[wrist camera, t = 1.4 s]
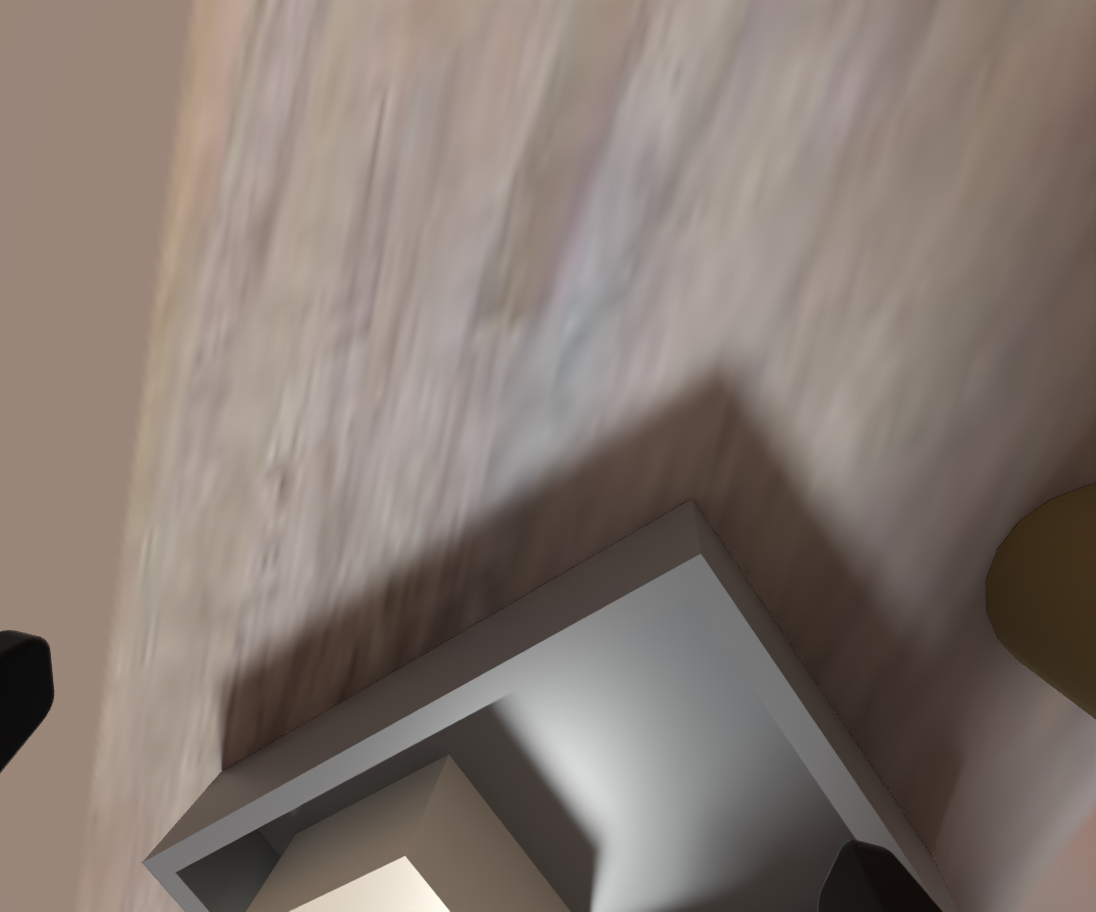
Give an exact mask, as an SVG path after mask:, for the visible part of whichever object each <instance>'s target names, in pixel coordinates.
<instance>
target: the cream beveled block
mask: <svg viewBox="0 0 1096 912" xmlns="http://www.w3.org/2000/svg"><path fill="white" fill-rule="evenodd" d="M246 912H571V911H570V910H569V909H568V907H567V906H566V905H565V903H564V902H563V901H562V900H561V898H560V897H559V896H558V894H557V893H556V892H555V890H554V889H553V888H552V887H551V885H550V884H549V883H548V881H547V880H546V879H545V878H544V876H543V875H542V874H541V872H540V871H539V870H538V869H537V867H536V866H535V865H534V863H533V862H532V861H531V860H530V858H529V857H528V856H527V854H526V853H525V852H524V851H523V849H522V848H521V847H520V845H519V844H518V843H517V841H516V840H515V839H514V838H513V836H512V835H511V834H510V832H509V831H508V830H507V829H506V827H505V826H504V825H503V823H502V822H501V821H500V820H499V818H498V817H497V816H496V814H495V813H494V812H493V811H492V809H491V808H490V807H489V805H488V804H487V803H486V801H485V800H484V799H483V798H482V796H481V795H480V794H479V792H478V791H477V790H476V789H475V787H474V786H473V785H472V783H471V782H470V781H469V780H468V778H467V777H466V776H465V774H464V773H463V772H462V771H461V769H460V768H459V767H458V765H457V764H456V763H455V762H454V760H453V759H452V758H451V756H450V755H447V756H445V757H443V758H441V759H439V760H437V761H435V762H433V763H431V764H429V765H427V766H426V767H424V768H422V769H420V770H418V771H416V772H414V773H412V774H410V775H408V776H406V777H404V778H403V779H401V780H399V781H397V782H395V783H393V784H391V785H389V786H387V787H385V788H383V789H381V790H380V791H378V792H376V793H374V794H372V795H370V796H368V797H366V798H364V799H362V800H360V801H358V802H357V803H355V804H353V805H351V806H349V807H347V808H345V809H343V810H341V811H339V812H337V813H335V814H333V815H332V816H330V817H328V818H326V819H324V820H322V821H320V822H318V823H316V824H314V825H312V826H310V827H309V828H307V829H305V830H303V831H301V832H299V833H297V834H295V836H294V838H293V839H292V841H291V842H290V844H289V845H288V847H287V848H286V850H285V852H284V853H283V855H282V856H281V858H280V859H279V861H278V862H277V864H276V866H275V867H274V869H273V870H272V872H271V873H270V875H269V877H268V878H267V880H266V881H265V883H264V884H263V886H262V887H261V889H260V891H259V892H258V894H257V895H256V897H255V898H254V900H253V901H252V903H251V905H250V906H249V908H248V909H247V911H246Z"/></svg>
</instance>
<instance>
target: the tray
mask: <svg viewBox="0 0 1096 912" xmlns="http://www.w3.org/2000/svg"><path fill="white" fill-rule="evenodd" d="M447 755H450V756H451V758H452V759H453V760H454V762H455V763H456V764H457V765H458V767H459V768H460V769H461V771H462V772H463V773H464V774H465V776H466V777H467V778H468V780H469V781H470V782H471V783H472V785H473V786H474V787H475V789H476V790H477V791H478V792H479V794H480V795H481V796H482V798H483V799H484V800H485V801H486V803H487V804H488V805H489V807H490V808H491V809H492V811H493V812H494V813H495V814H496V816H497V817H498V818H499V820H500V821H501V822H502V823H503V825H504V826H505V827H506V829H507V830H508V831H509V832H510V834H511V835H512V836H513V838H514V839H515V840H516V841H517V843H518V844H519V845H520V847H521V848H522V849H523V851H524V852H525V853H526V854H527V856H528V857H529V858H530V860H531V861H532V862H533V863H534V865H535V866H536V867H537V869H538V870H539V871H540V872H541V874H542V875H543V876H544V878H545V879H546V880H547V881H548V883H549V884H550V885H551V887H552V888H553V889H554V890H555V892H556V893H557V894H558V896H559V897H560V898H561V900H562V901H563V902H564V903H565V905H566V906H567V907H568V909H569V910H570V911H571V912H818V898H819V894H820V891H821V888H822V886H823V884H824V882H825V879H826V877H827V875H828V873H829V871H830V869H831V867H832V864H833V862H834V860H835V858H836V856H837V854H838V852H839V849H840V848H841V846H842V844H843V843H844V842H846V841H847V840H852V839H854V840H858V841H862V842H866V843H870V844H874V845H878V846H882V847H884V848H886V849H888V850H889V851H891V852H892V853H893V854H894V855H895V856H896V857H897V859H898V860H899V861H900V862H901V863H902V864H903V866H904V867H905V868H906V869H907V870H908V871H909V872H910V874H911V875H912V876H913V877H914V878H915V879H916V881H917V882H918V883H919V884H920V885H921V886H922V888H923V889H924V890H925V891H926V892H927V893H928V895H929V896H930V897H931V898H932V899H933V900H934V902H935V903H936V904H937V905H938V906H939V907H940V909H941V910H942V911H943V912H958V910H957V908H956V906H955V904H954V902H953V900H952V897H951V895H950V893H949V891H948V889H947V887H946V885H945V883H944V880H943V878H942V876H941V874H940V872H939V870H938V868H937V866H936V863H935V861H934V859H933V857H932V855H931V854H930V853H929V851H928V850H927V848H926V847H925V845H924V844H923V842H922V841H921V839H920V838H919V836H918V835H917V833H916V832H915V830H914V829H913V827H912V826H911V824H910V823H909V821H908V820H907V818H906V817H905V815H904V814H903V812H902V811H901V809H900V808H899V806H898V805H897V803H896V802H895V800H894V799H893V797H892V796H891V794H890V793H889V791H888V790H887V788H886V787H885V785H884V784H883V782H882V781H881V779H880V778H879V776H878V775H877V773H876V772H875V770H874V769H873V767H872V766H871V764H870V763H869V761H868V760H867V758H866V757H865V755H864V754H863V752H862V751H861V750H860V748H859V747H858V745H857V744H856V742H855V741H854V739H853V738H852V736H851V735H850V733H849V732H848V730H847V729H846V727H845V726H844V724H843V723H842V721H841V720H840V718H839V717H838V715H837V714H836V712H835V711H834V709H833V708H832V706H831V705H830V703H829V702H828V700H827V699H826V697H825V696H824V694H823V693H822V691H821V690H820V688H819V687H818V685H817V684H816V682H815V681H814V679H813V678H812V676H811V675H810V673H809V672H808V670H807V669H806V667H805V666H804V664H803V663H802V661H801V660H800V658H799V657H798V655H797V654H796V652H795V651H794V650H793V648H792V647H791V645H790V644H789V642H788V641H787V639H786V638H785V636H784V635H783V633H782V632H781V630H780V629H779V627H778V626H777V624H776V623H775V621H774V620H773V618H772V617H771V615H770V614H769V612H768V611H767V609H766V608H765V606H764V605H763V603H762V602H761V600H760V599H759V597H758V596H757V594H756V593H755V591H754V590H753V588H752V587H751V585H750V584H749V582H748V581H747V579H746V578H745V576H744V575H743V573H742V572H741V570H740V569H739V567H738V566H737V564H736V563H735V561H734V560H733V558H732V557H731V555H730V554H729V552H728V551H727V549H726V548H725V547H724V545H723V544H722V542H721V541H720V539H719V538H718V536H717V535H716V533H715V532H714V530H713V529H712V527H711V526H710V524H709V523H708V521H707V520H706V518H705V517H704V515H703V514H702V512H701V511H700V509H699V508H698V506H697V505H696V503H695V502H694V500H693V499H690V500H689V501H687V502H685V503H684V504H682V505H680V506H678V507H677V508H675V509H673V510H672V511H670V512H668V513H666V514H665V515H663V516H661V517H659V518H658V519H656V520H654V521H653V522H651V523H649V524H647V525H646V526H644V527H642V528H641V529H639V530H637V531H635V532H634V533H632V534H630V535H628V536H627V537H625V538H623V539H622V540H620V541H618V542H616V543H615V544H613V545H611V546H610V547H608V548H606V549H604V550H603V551H601V552H599V553H597V554H596V555H594V556H592V557H591V558H589V559H587V560H585V561H584V562H582V563H580V564H579V565H577V566H575V567H573V568H572V569H570V570H568V571H567V572H565V573H563V574H561V575H560V576H558V577H556V578H554V579H553V580H551V581H549V582H548V583H546V584H544V585H542V586H541V587H539V588H537V589H536V590H534V591H532V592H530V593H529V594H527V595H525V596H523V597H522V598H520V599H518V600H517V601H515V602H513V603H511V604H510V605H508V606H506V607H505V608H503V609H501V610H499V611H498V612H496V613H494V614H492V615H491V616H489V617H487V618H486V619H484V620H482V621H480V622H479V623H477V624H475V625H474V626H472V627H470V628H468V629H467V630H465V631H463V632H462V633H460V634H458V635H456V636H455V637H453V638H451V639H449V640H448V641H446V642H444V643H443V644H441V645H439V646H437V647H436V648H434V649H432V650H431V651H429V652H427V653H425V654H424V655H422V656H420V657H418V658H417V659H415V660H413V661H412V662H410V663H408V664H406V665H405V666H403V667H401V668H400V669H398V670H396V671H394V672H393V673H391V674H389V675H387V676H386V677H384V678H382V679H381V680H379V681H377V682H375V683H374V684H372V685H370V686H369V687H367V688H365V689H363V690H362V691H360V692H358V693H356V694H355V695H353V696H351V697H350V698H348V699H346V700H344V701H343V702H341V703H339V704H338V705H336V706H334V707H332V708H331V709H329V710H327V711H326V712H324V713H322V714H320V715H319V716H317V717H315V718H313V719H312V720H310V721H308V722H307V723H305V724H303V725H301V726H300V727H298V728H296V729H295V730H293V731H291V732H289V733H288V734H286V735H284V736H282V737H281V738H279V739H277V740H276V741H274V742H272V743H270V744H269V745H267V746H265V747H264V748H262V749H260V750H258V751H257V752H255V753H253V754H251V755H250V756H248V757H246V758H245V759H243V760H241V761H239V762H238V763H236V764H234V765H233V766H231V767H229V768H227V769H226V770H224V771H222V772H221V773H220V774H219V775H218V776H217V777H216V778H215V780H214V781H213V782H212V783H211V784H210V785H209V786H208V788H207V789H206V790H205V791H204V792H203V793H202V794H201V796H200V797H199V798H198V799H197V800H196V801H195V803H194V804H193V805H192V806H191V807H190V808H189V809H188V811H187V812H186V813H185V814H184V815H183V816H182V817H181V819H180V820H179V821H178V822H177V823H176V824H175V825H174V827H173V828H172V829H171V830H170V831H169V832H168V834H167V835H166V836H165V837H164V838H163V839H162V840H161V842H160V843H159V844H158V845H157V846H156V847H155V848H154V850H153V851H152V852H151V853H150V854H149V855H148V856H147V858H146V859H145V860H144V861H143V862H142V863H143V864H144V866H145V867H146V868H147V869H148V870H149V871H150V872H151V874H152V875H153V876H154V877H155V878H156V879H157V880H158V882H159V883H160V884H161V885H162V886H163V887H164V888H165V890H166V891H167V892H168V893H169V894H170V895H171V896H172V898H173V899H174V900H175V901H176V902H177V903H178V904H179V906H180V907H181V908H182V909H183V910H184V911H185V912H246V911H247V909H248V908H249V906H250V905H251V903H252V901H253V900H254V898H255V897H256V895H257V894H258V892H259V891H260V889H261V887H262V886H263V884H264V883H265V881H266V880H267V878H268V877H269V875H270V873H271V872H272V870H273V869H274V867H275V866H276V864H277V862H278V861H279V859H280V858H281V856H282V855H283V853H284V852H285V850H286V848H287V847H288V845H289V844H290V842H291V841H292V839H293V838H294V836H295V834H297V833H299V832H301V831H303V830H305V829H307V828H309V827H310V826H312V825H314V824H316V823H318V822H320V821H322V820H324V819H326V818H328V817H330V816H332V815H333V814H335V813H337V812H339V811H341V810H343V809H345V808H347V807H349V806H351V805H353V804H355V803H357V802H358V801H360V800H362V799H364V798H366V797H368V796H370V795H372V794H374V793H376V792H378V791H380V790H381V789H383V788H385V787H387V786H389V785H391V784H393V783H395V782H397V781H399V780H401V779H403V778H404V777H406V776H408V775H410V774H412V773H414V772H416V771H418V770H420V769H422V768H424V767H426V766H427V765H429V764H431V763H433V762H435V761H437V760H439V759H441V758H443V757H445V756H447Z"/></svg>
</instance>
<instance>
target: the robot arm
mask: <svg viewBox="0 0 1096 912" xmlns="http://www.w3.org/2000/svg"><path fill="white" fill-rule="evenodd" d="M53 700H54V685H53V674H52V663H51V653H50V647H49V644H48V643H47V641H46V640H45V639H43V638H42V637H39V636H35V635H31V634H27V633H23V632H19V631H12V630H7V631H1V632H0V773H1V772H2V770H3V769H4V768H5V767H6V766H7V764H8V763H9V762H10V761H11V759H12V758H13V757H14V756H15V754H16V753H17V752H18V751H19V750H20V748H21V747H22V746H23V745H24V743H25V742H26V741H27V740H28V738H29V737H30V736H31V735H32V734H33V732H34V731H35V730H36V729H37V727H38V726H39V725H40V724H41V722H42V721H43V720H44V719H45V717H46V716H47V714H48V712H49V710H50V708H51V706H52V703H53ZM818 912H943V911H942V910H941V909H940V907H939V906H938V905H937V904H936V903H935V902H934V900H933V899H932V898H931V897H930V896H929V895H928V893H927V892H926V891H925V890H924V889H923V888H922V886H921V885H920V884H919V883H918V882H917V881H916V879H915V878H914V877H913V876H912V875H911V874H910V872H909V871H908V870H907V869H906V868H905V867H904V866H903V864H902V863H901V862H900V861H899V860H898V859H897V857H896V856H895V855H894V854H893V853H892V852H891V851H889V850H888V849H886V848H884V847H882V846H878V845H874V844H870V843H866V842H862V841H858V840H854V839H852V840H847V841H846V842H844V843H843V844H842V846H841V848H840V849H839V852H838V854H837V856H836V858H835V860H834V862H833V864H832V867H831V869H830V871H829V873H828V875H827V877H826V879H825V882H824V884H823V886H822V888H821V891H820V894H819V898H818Z"/></svg>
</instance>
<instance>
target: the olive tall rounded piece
mask: <svg viewBox="0 0 1096 912" xmlns="http://www.w3.org/2000/svg"><path fill="white" fill-rule="evenodd" d="M986 611H987V613H988V616H989V618H990V621H991V623H992V625H993V628H994V630H995V633H996V635H997V638H998V639H999V640H1000V641H1001V642H1002V644H1003V645H1004V646H1005V647H1006V648H1007V649H1008V650H1009V651H1010V652H1011V653H1012V654H1013V655H1014V656H1015V657H1016V658H1017V659H1018V660H1019V662H1021V663H1022V664H1023V665H1025V666H1026V667H1027V668H1029V669H1030V670H1031V671H1033V672H1034V673H1035V674H1037V675H1038V676H1039V677H1041V678H1042V679H1043V680H1045V681H1046V682H1047V683H1049V684H1050V685H1051V686H1053V687H1054V688H1055V689H1056V690H1058V691H1059V692H1060V693H1062V694H1063V695H1064V696H1066V697H1067V698H1068V699H1070V700H1071V701H1072V702H1074V703H1075V704H1076V705H1078V706H1079V707H1080V708H1082V709H1083V710H1084V711H1086V712H1087V713H1088V714H1090V715H1091V716H1092V717H1094V718H1095V719H1096V484H1091V485H1088V486H1085V487H1082V488H1080V489H1077V490H1074V491H1071V492H1069V493H1066V494H1063V495H1061V496H1058V497H1055V498H1052V499H1051V500H1049V501H1048V502H1047V503H1045V504H1044V505H1042V506H1041V507H1039V508H1038V509H1037V510H1035V511H1034V512H1032V513H1031V514H1029V515H1028V516H1027V517H1025V518H1024V519H1022V520H1021V521H1020V522H1019V523H1018V524H1017V526H1016V527H1015V528H1014V529H1013V531H1012V532H1011V533H1010V534H1009V536H1008V537H1007V538H1006V539H1005V541H1004V542H1003V543H1002V544H1001V546H1000V547H999V548H998V550H997V552H996V555H995V558H994V560H993V563H992V566H991V568H990V571H989V574H988V576H987V579H986Z"/></svg>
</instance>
